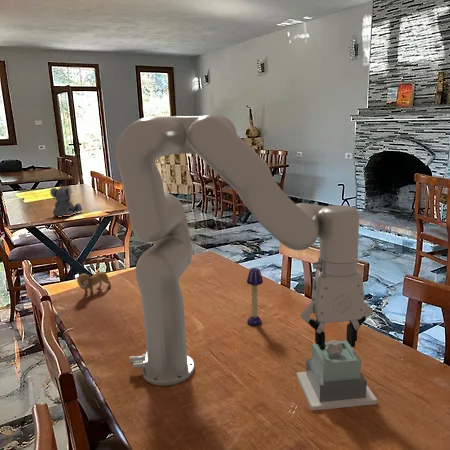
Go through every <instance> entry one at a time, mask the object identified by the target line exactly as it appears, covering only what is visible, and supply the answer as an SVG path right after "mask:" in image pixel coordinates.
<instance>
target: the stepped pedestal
mask: <svg viewBox="0 0 450 450" xmlns="http://www.w3.org/2000/svg"><path fill="white" fill-rule="evenodd" d="M337 341H338V340H337ZM328 342H329V341H328ZM328 342H326V341H325V348H326V346H327V344H328ZM338 342H339V343H340V344H341V346H342V347H343V350H342V353H341V354H340V356H339V357H331V356H330V355H329V354H328V353H327V351H326V350H325V349H324V350H321V349H320V347H319V345H317V344H316V342H314V343H311V358H306V360H305V363H306V364H305V365H306V366H305V371H300V372H296V378H297V380H298V384H299V385H300V388H301V390H302V392H303V394H304V396H305V399H306V401H307V403H308V406H309V408H310V410H311V411H320V410H321V411H323V410H330V409H331V410H332V409H341V408H351V407H360V406H370V405H378V399H377V398H376V396H375V394H374V393H373V392H372V390H371V389H370V387H369V386H368V384H367V383H368V380H367V379H366V378H365V376H364V375H363V374H362V372H361V370H362V359H361V358H360V356H359V355H358V353H356V351H355V350H354V347H351V346H350V344H349V343H348V342H347V340H339V341H338Z"/></svg>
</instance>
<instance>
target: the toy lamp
mask: <svg viewBox="0 0 450 450" xmlns="http://www.w3.org/2000/svg"><path fill="white" fill-rule="evenodd" d="M263 283H264V281H263V276H262V271H261V270H260V268H258V267H254V268H253V267H252V268H250V269H249V271H248V275H247V279H246V284H248V285H250V286H251V298H250V299H251V305H250V306H251V314H250V315H251V316H250V317H248V319H247V320H246V321H247V325H249V326H255V327H256V326H260V325H261V324H262V323H263V322H262V319H261V317H260V316H258V304H259V303H258V291H259V289H258V286H261V285H262V284H263Z"/></svg>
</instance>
